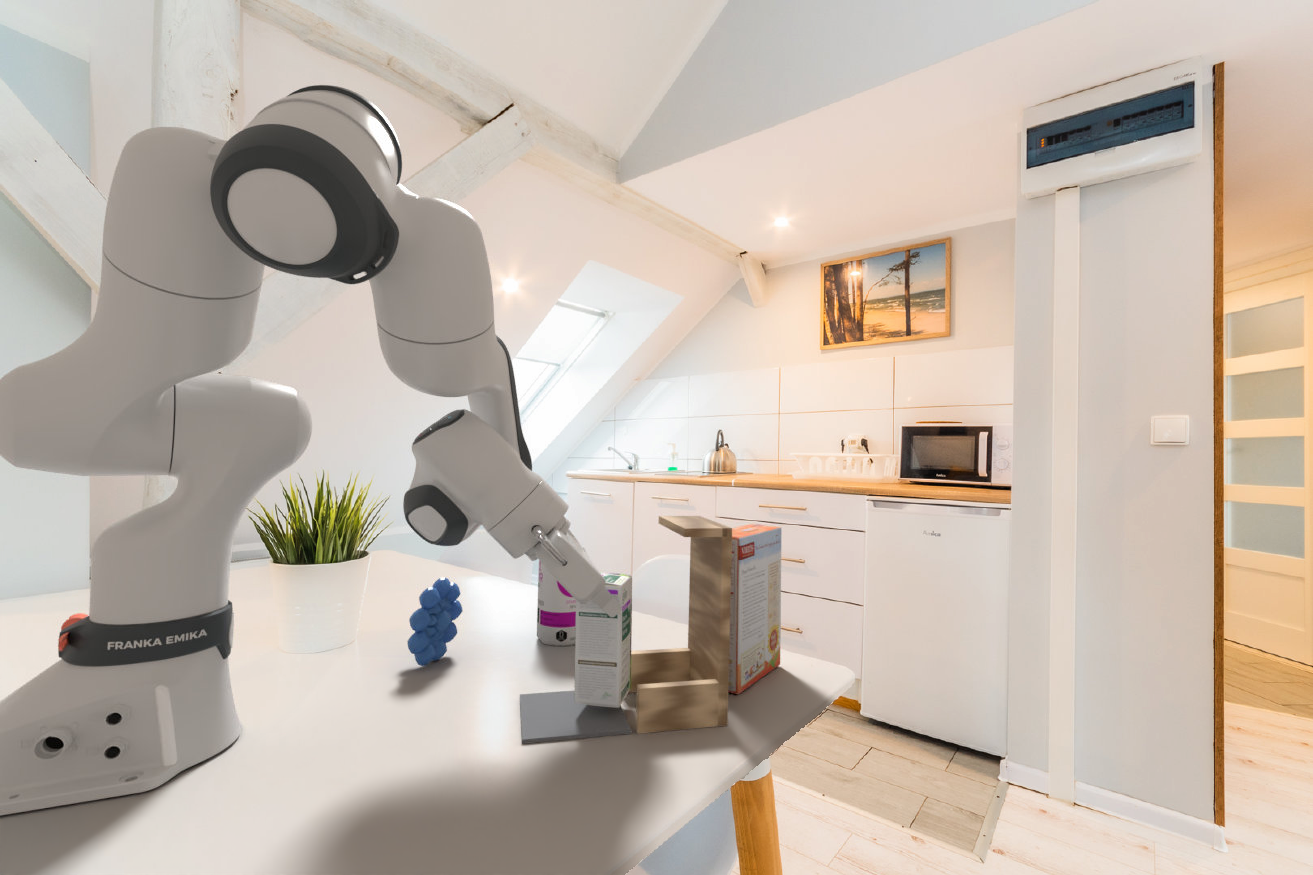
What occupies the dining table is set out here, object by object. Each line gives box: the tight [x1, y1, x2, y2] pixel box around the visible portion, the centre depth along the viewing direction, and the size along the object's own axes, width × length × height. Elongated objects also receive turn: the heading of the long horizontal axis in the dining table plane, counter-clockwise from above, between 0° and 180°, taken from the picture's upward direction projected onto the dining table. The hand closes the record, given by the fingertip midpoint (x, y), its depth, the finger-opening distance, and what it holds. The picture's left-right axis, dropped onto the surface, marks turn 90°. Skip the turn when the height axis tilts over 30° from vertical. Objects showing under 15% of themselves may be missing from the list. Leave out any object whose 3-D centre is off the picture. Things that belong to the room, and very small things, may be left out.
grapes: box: [407, 576, 464, 667], centre depth 88 cm, size 12×7×12 cm, turn 167°
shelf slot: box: [628, 515, 733, 734], centre depth 75 cm, size 11×12×23 cm
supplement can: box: [536, 546, 588, 647], centre depth 100 cm, size 8×8×15 cm
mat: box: [519, 689, 632, 744], centre depth 72 cm, size 12×12×1 cm
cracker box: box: [728, 523, 782, 695], centre depth 86 cm, size 14×6×21 cm, turn 145°
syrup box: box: [574, 572, 633, 708], centre depth 73 cm, size 6×6×14 cm
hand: (610, 602), depth 73 cm, fingers closed on syrup box, 7 cm apart
